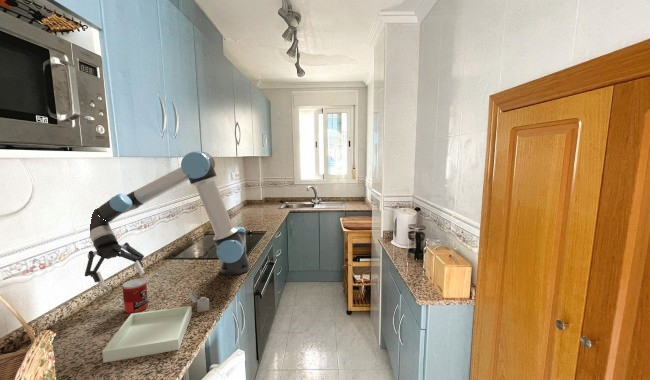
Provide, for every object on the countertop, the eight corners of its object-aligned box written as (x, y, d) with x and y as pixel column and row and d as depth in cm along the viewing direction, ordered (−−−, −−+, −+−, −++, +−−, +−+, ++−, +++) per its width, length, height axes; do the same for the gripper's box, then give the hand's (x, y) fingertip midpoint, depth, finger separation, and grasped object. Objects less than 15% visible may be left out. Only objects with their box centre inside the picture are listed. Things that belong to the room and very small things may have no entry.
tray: (191, 314, 103) (191, 305, 103) (178, 349, 84) (178, 339, 84) (131, 322, 98) (131, 313, 97) (103, 362, 79) (102, 351, 78)
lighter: (209, 308, 107) (208, 289, 107) (208, 310, 106) (207, 291, 105) (190, 310, 106) (188, 291, 105) (189, 313, 104) (187, 293, 103)
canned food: (136, 315, 102) (134, 288, 101) (119, 313, 104) (116, 286, 103) (153, 304, 110) (151, 279, 108) (136, 302, 111) (134, 277, 110)
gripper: (133, 236, 126) (153, 274, 120) (62, 252, 104) (82, 299, 99) (138, 227, 123) (159, 265, 117) (66, 241, 101) (87, 289, 96)
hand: (124, 280), depth 108 cm, fingers open, 13 cm apart
